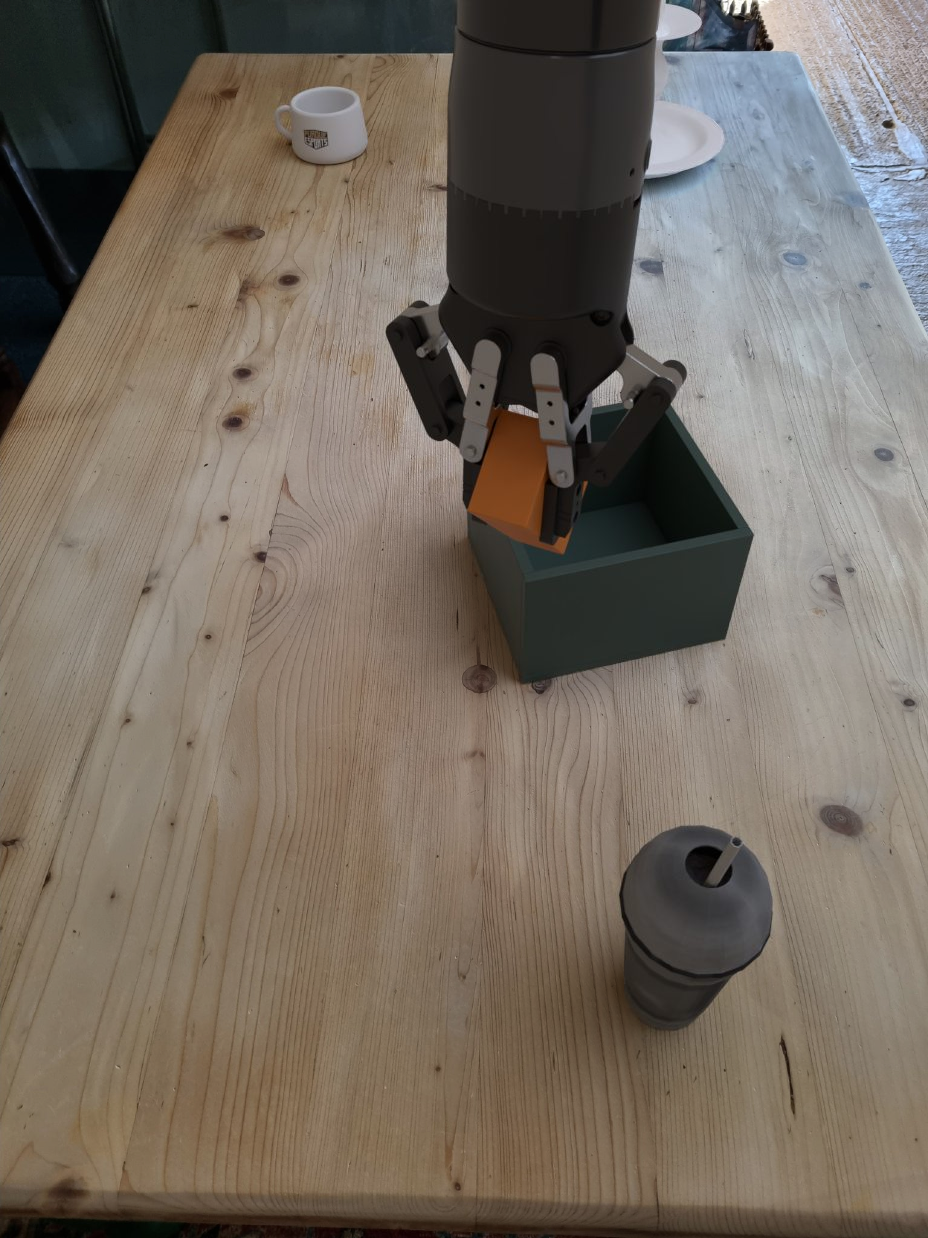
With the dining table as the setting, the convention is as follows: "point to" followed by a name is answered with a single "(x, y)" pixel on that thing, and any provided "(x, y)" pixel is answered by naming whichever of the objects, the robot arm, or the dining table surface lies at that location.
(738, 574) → the open box
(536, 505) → the block
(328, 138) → the mug
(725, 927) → the beverage cup
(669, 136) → the candlestick
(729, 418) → the dining table surface
